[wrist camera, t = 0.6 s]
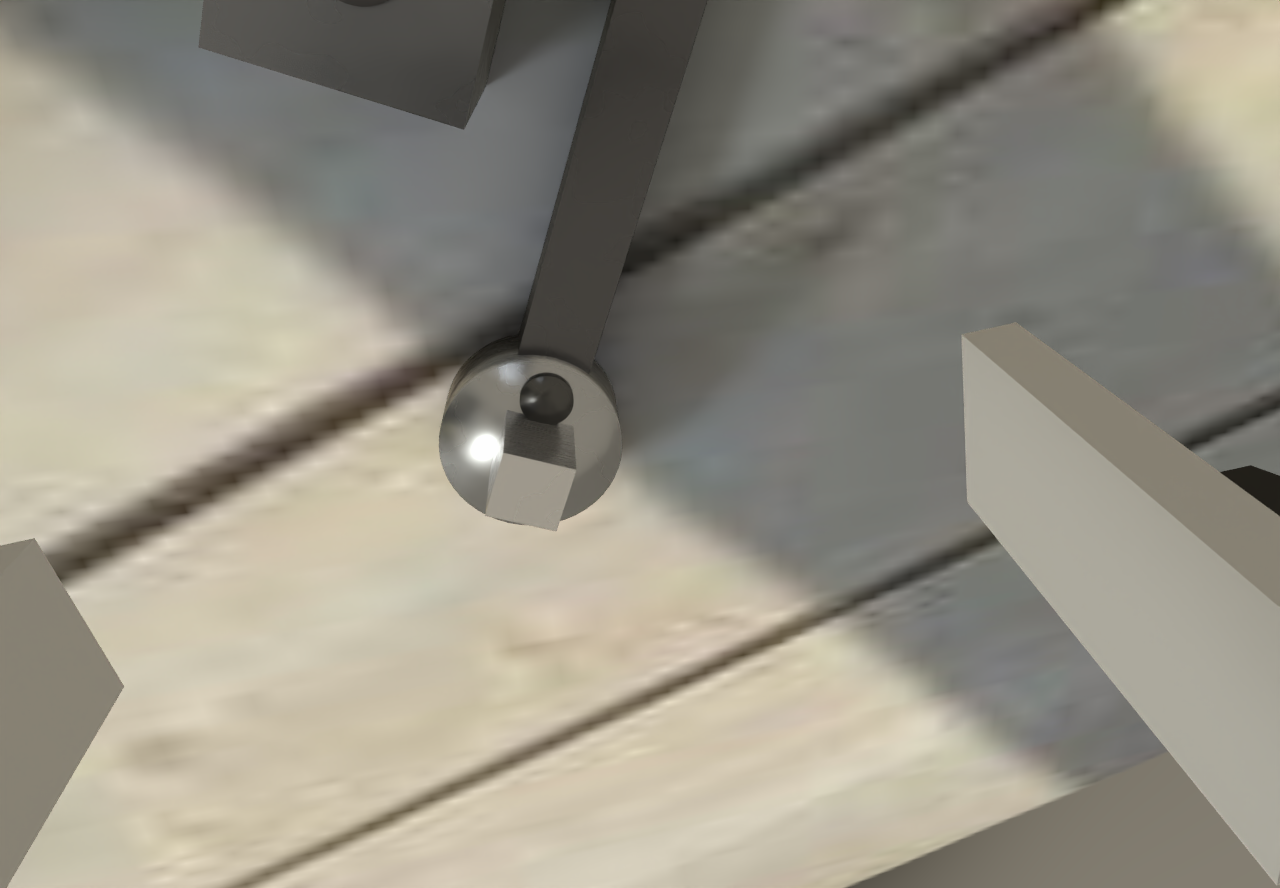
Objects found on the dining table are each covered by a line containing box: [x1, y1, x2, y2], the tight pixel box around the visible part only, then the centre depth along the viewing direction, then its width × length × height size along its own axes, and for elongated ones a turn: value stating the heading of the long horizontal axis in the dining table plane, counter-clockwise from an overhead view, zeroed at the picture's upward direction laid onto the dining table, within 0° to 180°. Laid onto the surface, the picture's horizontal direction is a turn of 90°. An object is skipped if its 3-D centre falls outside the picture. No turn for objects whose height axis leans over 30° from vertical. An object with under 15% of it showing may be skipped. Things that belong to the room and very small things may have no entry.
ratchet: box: [439, 0, 707, 531], centre depth 32 cm, size 7×22×6 cm, turn 162°
